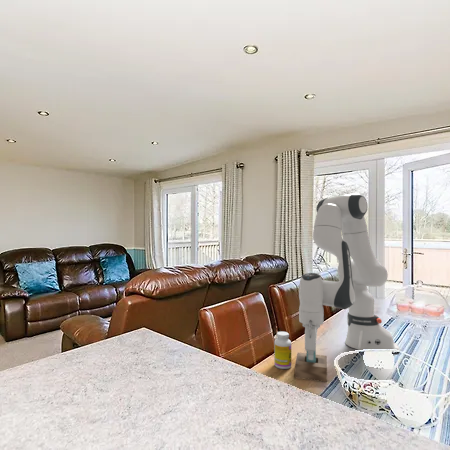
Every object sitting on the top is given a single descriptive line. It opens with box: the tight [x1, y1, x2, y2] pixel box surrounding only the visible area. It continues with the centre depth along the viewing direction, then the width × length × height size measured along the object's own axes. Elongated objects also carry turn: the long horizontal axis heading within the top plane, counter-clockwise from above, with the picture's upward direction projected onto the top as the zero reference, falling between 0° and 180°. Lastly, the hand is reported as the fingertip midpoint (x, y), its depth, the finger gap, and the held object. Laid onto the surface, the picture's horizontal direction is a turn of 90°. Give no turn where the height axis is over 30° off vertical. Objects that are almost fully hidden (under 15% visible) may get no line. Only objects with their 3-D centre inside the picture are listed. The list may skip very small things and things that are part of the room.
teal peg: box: [306, 349, 317, 363], centre depth 118 cm, size 3×3×12 cm
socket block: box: [294, 352, 328, 383], centre depth 118 cm, size 11×11×5 cm
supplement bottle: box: [273, 331, 292, 370], centre depth 124 cm, size 7×7×13 cm
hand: (311, 354), depth 118 cm, fingers open, 8 cm apart
